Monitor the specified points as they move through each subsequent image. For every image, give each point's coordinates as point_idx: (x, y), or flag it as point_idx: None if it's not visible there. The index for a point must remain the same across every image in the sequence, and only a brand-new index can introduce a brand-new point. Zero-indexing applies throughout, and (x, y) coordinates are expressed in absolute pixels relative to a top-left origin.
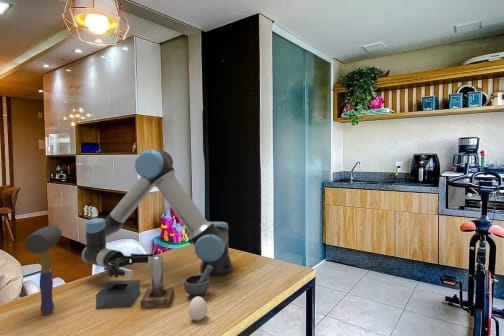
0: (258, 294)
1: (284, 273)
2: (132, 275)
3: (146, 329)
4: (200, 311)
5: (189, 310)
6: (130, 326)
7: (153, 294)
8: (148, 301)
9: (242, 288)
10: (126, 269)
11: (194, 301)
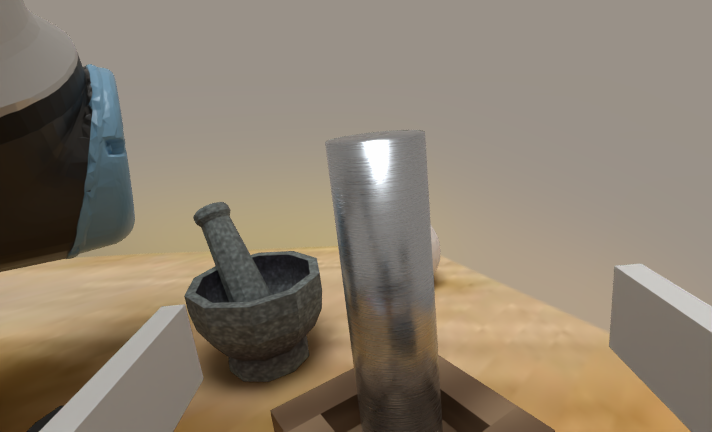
0: (204, 268)
1: (31, 282)
2: (612, 321)
3: (590, 333)
4: None
5: (438, 248)
6: None
7: (441, 411)
8: (504, 403)
9: (161, 301)
10: (702, 313)
11: None
